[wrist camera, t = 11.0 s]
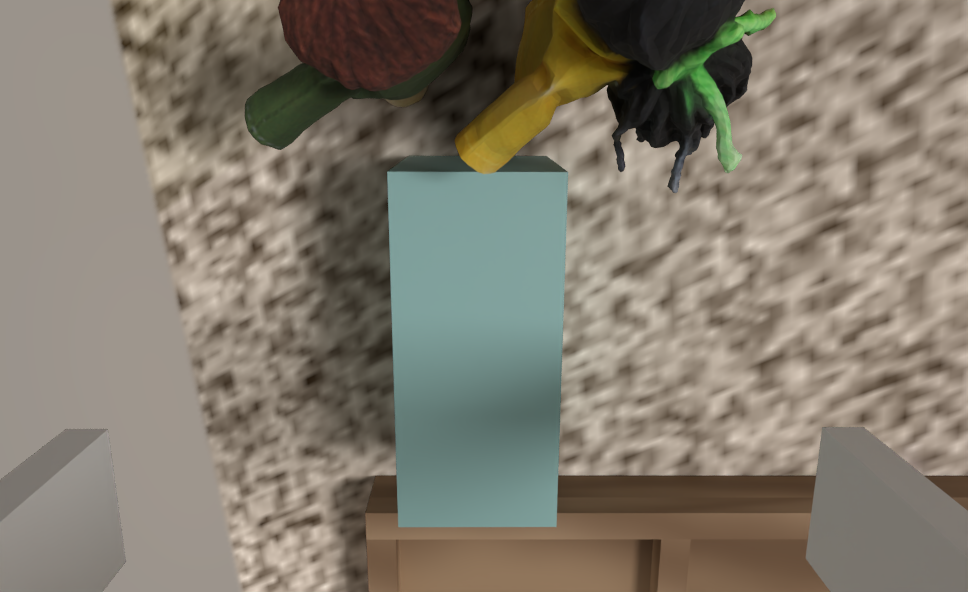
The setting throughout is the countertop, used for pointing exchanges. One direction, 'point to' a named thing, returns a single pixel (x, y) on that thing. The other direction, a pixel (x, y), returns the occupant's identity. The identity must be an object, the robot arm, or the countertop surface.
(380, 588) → the divided compartment tray
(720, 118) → the doll family
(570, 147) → the countertop surface
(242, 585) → the countertop surface
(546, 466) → the teal rectangular block
